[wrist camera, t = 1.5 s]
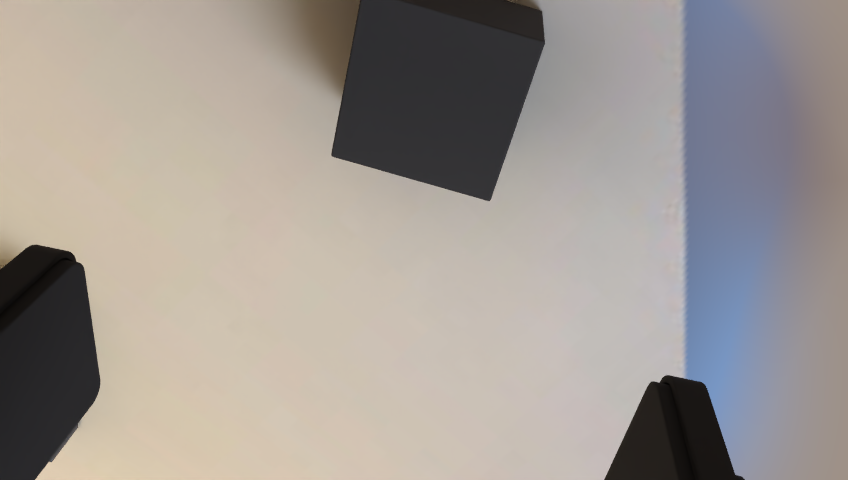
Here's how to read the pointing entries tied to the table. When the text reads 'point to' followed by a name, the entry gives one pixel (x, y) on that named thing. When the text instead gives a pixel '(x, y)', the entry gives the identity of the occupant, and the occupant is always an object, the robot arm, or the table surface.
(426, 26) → the black block
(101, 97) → the table surface
